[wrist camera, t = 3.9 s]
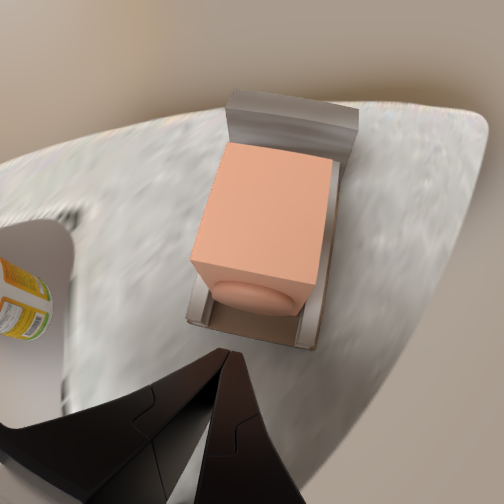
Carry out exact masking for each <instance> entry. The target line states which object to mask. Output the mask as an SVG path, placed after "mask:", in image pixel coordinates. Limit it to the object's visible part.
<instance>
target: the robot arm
mask: <svg viewBox="0 0 504 504" xmlns="http://www.w3.org/2000/svg"><path fill="white" fill-rule="evenodd" d="M210 419H211V420H210ZM209 421H210V425H209V430H208V435H207V440H206V445H205V450H204V455H203V460H202V465H201V470H200V475H199V480H198V485H197V490H196V495H195V500H194V504H306V502H305V501H304V499H303V497H302V496H301V494H300V492H299V490H298V489H297V487H296V485H295V483H294V482H293V480H292V478H291V476H290V474H289V473H288V471H287V469H286V467H285V466H284V464H283V462H282V460H281V458H280V456H279V455H278V453H277V451H276V449H275V447H274V445H273V443H272V441H271V439H270V437H269V435H268V432H267V430H266V427H265V424H264V421H263V418H262V415H261V413H260V410H259V406H258V403H257V400H256V397H255V393H254V390H253V387H252V383H251V380H250V377H249V373H248V370H247V367H246V363H245V360H244V356H243V354H242V353H240V352H235V351H231V352H230V351H229V350H227V349H222V348H217V349H216V350H214V351H212V352H210V353H208V354H207V355H205V356H203V357H201V358H199V359H197V360H196V361H194V362H192V363H190V364H188V365H186V366H184V367H183V368H181V369H179V370H177V371H175V372H173V373H171V374H169V375H167V376H166V377H164V378H162V379H160V380H158V381H156V382H154V383H152V384H150V385H147V386H145V387H143V388H141V389H139V390H137V391H135V392H133V393H130V394H128V395H126V396H123V397H120V398H118V399H115V400H112V401H109V402H106V403H104V404H101V405H98V406H95V407H92V408H88V409H85V410H82V411H79V412H76V413H73V414H69V415H66V416H63V417H59V418H56V419H53V420H49V421H46V422H42V423H39V424H35V425H31V426H28V427H24V428H19V429H12V428H8V427H6V426H4V425H3V424H2V423H0V462H1V463H2V465H1V466H0V504H166V501H168V499H169V497H170V495H171V493H172V492H173V490H174V488H175V486H176V484H177V482H178V480H179V478H180V477H181V475H182V473H183V471H184V469H185V467H186V465H187V463H188V461H189V460H190V458H191V456H192V454H193V452H194V450H195V448H196V446H197V444H198V442H199V440H200V438H201V436H202V434H203V432H204V430H205V429H206V427H207V425H208V423H209Z"/></svg>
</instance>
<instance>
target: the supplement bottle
mask: <svg viewBox="0 0 504 504" xmlns="http://www.w3.org/2000/svg"><path fill="white" fill-rule="evenodd" d="M52 315H53V299H52V294H51V292H50V289H49V287H48V286H47V284H45V282H44V281H42V280H41V279H39V278H38V277H36V276H34V275H32V274H30V273H28V272H26V271H24V270H22V269H20V268H19V267H17V266H15V265H13V264H11V263H9V262H8V261H6V260H4V259H2V258H1V257H0V334H2V335H6V336H11V337H14V338H18V339H23V340H35V339H37V338H39V337H40V336H41V335H43V334H44V333H45V331H46V330H47V328H48V326H49V325H50V322H51V319H52Z"/></svg>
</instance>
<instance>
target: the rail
mask: <svg viewBox="0 0 504 504" xmlns="http://www.w3.org/2000/svg"><path fill="white" fill-rule="evenodd" d="M225 111H226V118H227V125H228V132H229V139H230V142H231V143H238V144H245V145H252V146H259V147H266V148H272V149H278V150H284V151H290V152H296V153H301V154H306V155H312V156H317V157H322V158H327V159H332V160H333V161H332V170H331V179H330V188H329V196H328V204H327V212H326V219H325V226H324V234H323V240H322V247H321V254H320V260H319V267H318V273H317V279H316V285H315V287H314V288H313V290H312V292H311V293H310V295H309V297H308V298H307V300H306V301H305V303H304V305H303V306H302V308H301V310H300V311H299V313H298V314H297V316H291V315H290V316H268V315H261V314H256V313H251V312H247V311H243V310H239V309H236V308H232V307H229V306H227V305H224V304H222V303H220V302H218V301H216V300H214V299H213V298H212V293H211V291H210V290H209V288H208V287H207V285H206V284H205V282H204V281H203V279H202V278H201V276H200V275H199V273H198V274H197V277H196V281H195V285H194V288H193V292H192V296H191V299H190V303H189V307H188V310H187V314H186V319H188V320H187V322H188V323H189V324H193V325H197V326H201V327H205V328H209V329H213V330H217V331H221V332H226V333H230V334H234V335H239V336H243V337H248V338H253V339H257V340H262V341H267V342H272V343H277V344H282V345H287V346H292V347H298V348H303V349H309V350H316V346H317V341H318V335H319V330H320V324H321V319H322V313H323V307H324V301H325V295H326V289H327V283H328V276H329V269H330V263H331V255H332V248H333V241H334V233H335V225H336V216H337V208H338V198H339V189H340V181H341V178H342V176H343V173H344V170H345V167H346V164H347V162H348V159H349V156H350V153H351V150H352V147H353V145H354V142H355V139H356V136H357V133H358V124H359V109H355V108H351V107H346V106H342V105H337V104H332V103H327V102H322V101H317V100H311V99H305V98H299V97H293V96H286V95H280V94H273V93H265V92H256V91H247V90H238V89H233V91H232V93H231V95H230V98H229V100H228V103H227V105H226V108H225Z"/></svg>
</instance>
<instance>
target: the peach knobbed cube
mask: <svg viewBox="0 0 504 504" xmlns="http://www.w3.org/2000/svg"><path fill="white" fill-rule="evenodd" d="M332 161H333V160H332V159H327V158H322V157H317V156H312V155H306V154H301V153H296V152H290V151H284V150H278V149H272V148H266V147H259V146H252V145H245V144H238V143H231V142H227V145H226V148H225V151H224V153H223V156H222V159H221V162H220V165H219V168H218V171H217V174H216V177H215V180H214V183H213V186H212V189H211V192H210V195H209V198H208V201H207V204H206V207H205V210H204V214H203V217H202V220H201V223H200V226H199V230H198V233H197V236H196V239H195V243H194V246H193V249H192V253H191V256H190V261H191V262H192V264H193V265H194V267H195V269H196V270H197V272H198V273H199V275H200V276H201V278H202V279H203V281H204V282H205V284H206V285H207V287H208V288H209V290H210V291H211V293H212V298H213V299H214V300H216V301H218V302H220V303H222V304H224V305H227V306H229V307H232V308H236V309H239V310H243V311H247V312H251V313H256V314H261V315H268V316H290V315H291V316H297V314H298V313H299V311H300V310H301V308H302V306H303V305H304V303H305V301H306V300H307V298H308V297H309V295H310V293H311V292H312V290H313V288H314V287H315V285H316V279H317V273H318V267H319V260H320V254H321V247H322V240H323V234H324V226H325V219H326V212H327V204H328V196H329V188H330V179H331V170H332Z"/></svg>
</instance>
